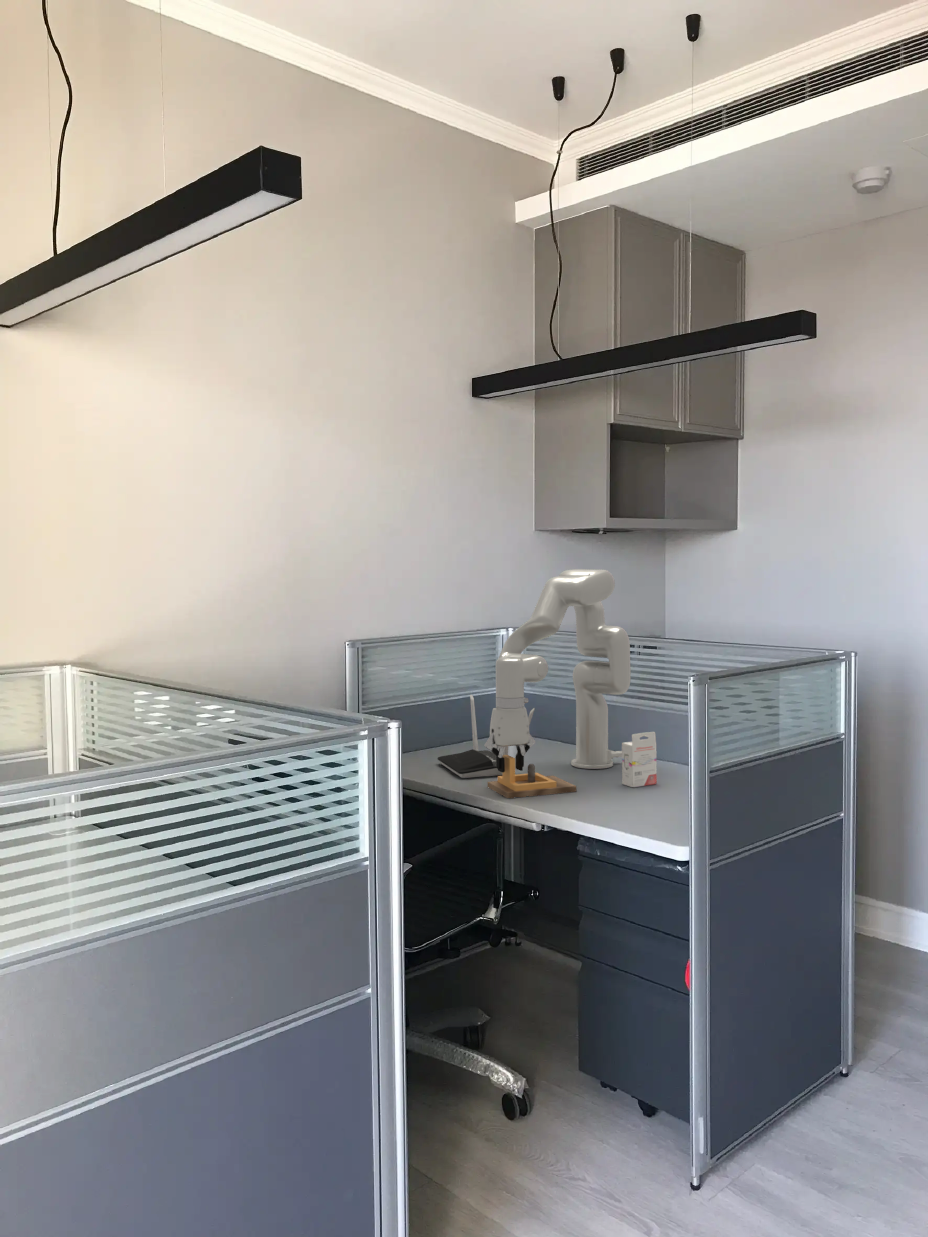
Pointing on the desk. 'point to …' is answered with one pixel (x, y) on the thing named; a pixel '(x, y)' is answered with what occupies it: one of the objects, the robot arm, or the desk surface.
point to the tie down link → (522, 778)
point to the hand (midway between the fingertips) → (510, 769)
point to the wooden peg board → (509, 793)
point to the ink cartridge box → (639, 760)
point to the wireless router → (475, 756)
